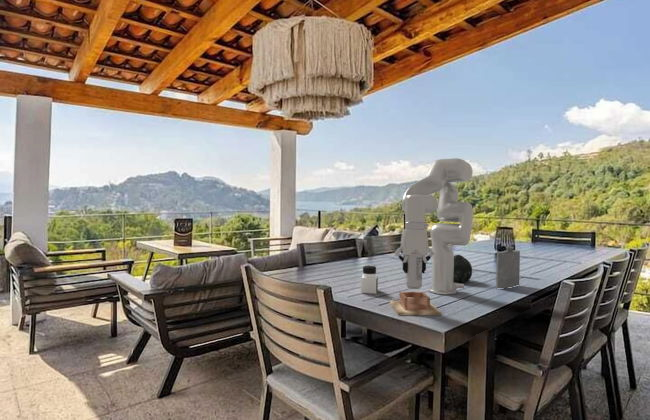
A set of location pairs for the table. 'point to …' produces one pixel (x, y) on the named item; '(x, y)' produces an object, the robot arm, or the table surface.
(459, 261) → the squash
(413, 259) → the energy drink can
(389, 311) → the table surface
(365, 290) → the medicine bottle
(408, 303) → the can sleeve stand
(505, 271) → the grey tall flat block
